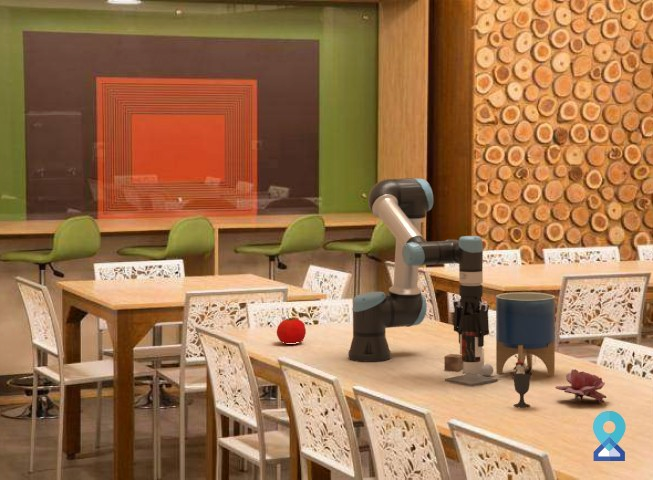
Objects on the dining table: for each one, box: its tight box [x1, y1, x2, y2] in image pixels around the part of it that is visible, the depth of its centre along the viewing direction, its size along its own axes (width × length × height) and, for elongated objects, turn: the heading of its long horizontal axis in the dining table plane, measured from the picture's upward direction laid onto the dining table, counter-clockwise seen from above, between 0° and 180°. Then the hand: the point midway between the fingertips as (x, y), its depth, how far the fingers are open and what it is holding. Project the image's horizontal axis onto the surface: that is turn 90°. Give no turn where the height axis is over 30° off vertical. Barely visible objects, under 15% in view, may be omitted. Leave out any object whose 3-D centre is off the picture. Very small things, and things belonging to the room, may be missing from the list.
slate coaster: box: [444, 374, 498, 387], centre depth 405 cm, size 12×12×1 cm
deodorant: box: [462, 314, 480, 362], centre depth 404 cm, size 6×6×15 cm
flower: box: [554, 369, 607, 405], centre depth 372 cm, size 15×15×10 cm
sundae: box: [510, 354, 534, 409], centre depth 368 cm, size 7×7×15 cm
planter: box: [495, 291, 556, 377], centre depth 414 cm, size 19×19×26 cm
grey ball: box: [481, 363, 494, 377], centre depth 413 cm, size 4×4×4 cm
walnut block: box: [443, 353, 463, 373], centre depth 425 cm, size 5×5×5 cm
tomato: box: [276, 316, 307, 344], centre depth 479 cm, size 11×13×10 cm
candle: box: [462, 347, 485, 376], centre depth 419 cm, size 7×7×8 cm
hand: (471, 355), depth 405 cm, fingers closed on deodorant, 6 cm apart
